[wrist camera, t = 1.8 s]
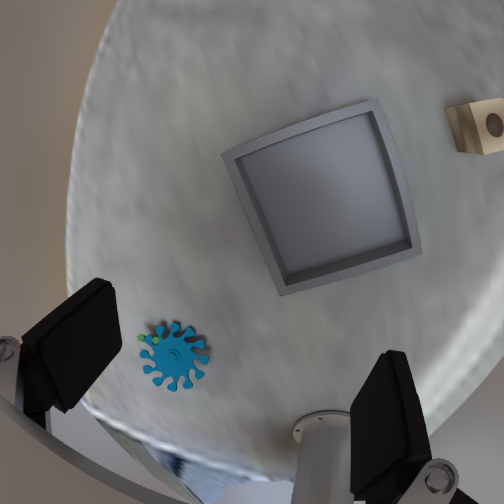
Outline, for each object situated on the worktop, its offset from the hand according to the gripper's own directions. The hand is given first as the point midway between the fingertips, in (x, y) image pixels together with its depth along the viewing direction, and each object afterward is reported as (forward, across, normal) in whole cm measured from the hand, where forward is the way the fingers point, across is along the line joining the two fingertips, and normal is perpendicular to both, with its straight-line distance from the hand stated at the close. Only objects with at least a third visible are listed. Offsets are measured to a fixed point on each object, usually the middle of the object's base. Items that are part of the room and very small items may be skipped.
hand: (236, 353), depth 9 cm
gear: (+24, +12, +24) cm, 35 cm away
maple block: (+24, -18, -14) cm, 33 cm away
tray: (+24, -4, -1) cm, 24 cm away
